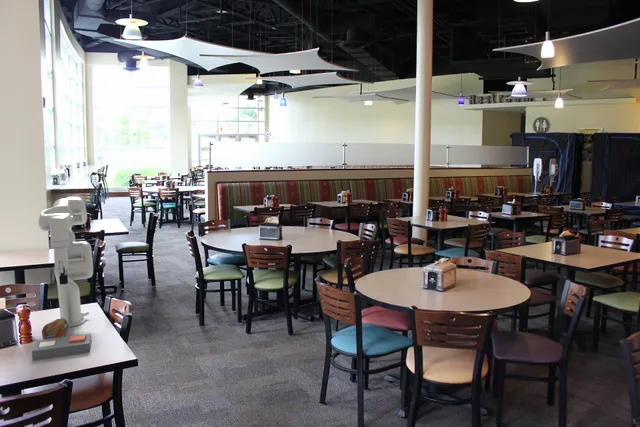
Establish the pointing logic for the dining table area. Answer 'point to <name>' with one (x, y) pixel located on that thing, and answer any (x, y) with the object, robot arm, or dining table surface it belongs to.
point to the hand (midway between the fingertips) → (63, 283)
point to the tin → (55, 329)
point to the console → (61, 348)
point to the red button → (77, 338)
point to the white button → (47, 343)
